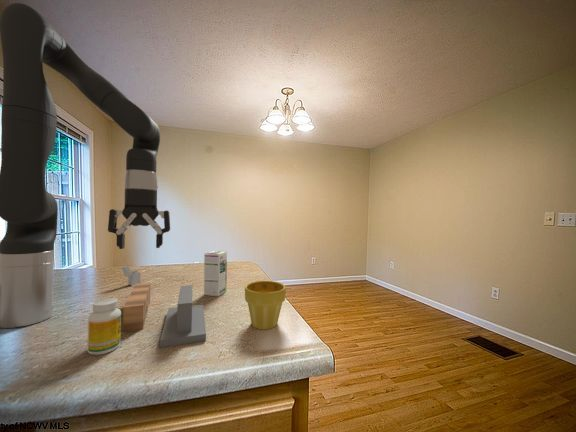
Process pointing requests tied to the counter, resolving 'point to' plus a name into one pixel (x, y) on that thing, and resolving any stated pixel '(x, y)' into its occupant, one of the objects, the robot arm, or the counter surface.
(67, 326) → the counter surface
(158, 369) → the counter surface
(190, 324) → the ridge stand
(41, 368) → the counter surface
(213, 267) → the syrup box
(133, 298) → the wooden beam
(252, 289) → the plant pot
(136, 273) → the lighter
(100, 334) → the supplement bottle
